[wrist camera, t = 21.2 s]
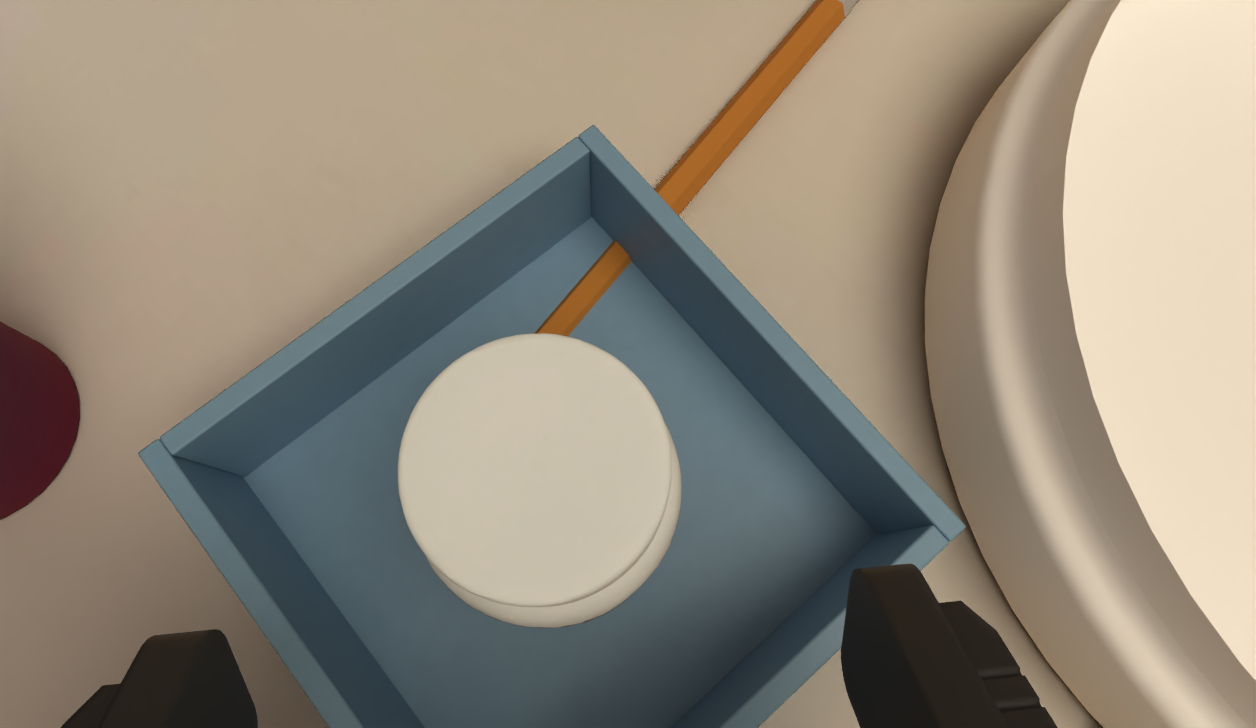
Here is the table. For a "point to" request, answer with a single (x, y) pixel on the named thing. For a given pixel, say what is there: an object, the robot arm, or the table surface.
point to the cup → (32, 418)
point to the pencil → (709, 150)
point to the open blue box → (692, 410)
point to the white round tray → (1112, 354)
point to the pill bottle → (540, 480)
